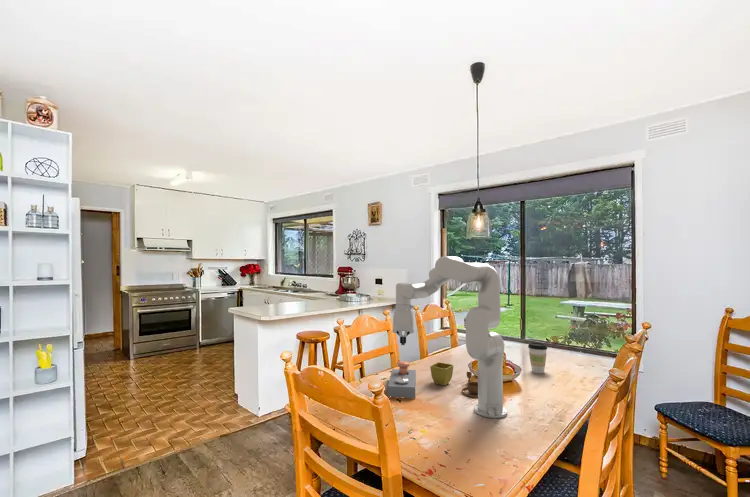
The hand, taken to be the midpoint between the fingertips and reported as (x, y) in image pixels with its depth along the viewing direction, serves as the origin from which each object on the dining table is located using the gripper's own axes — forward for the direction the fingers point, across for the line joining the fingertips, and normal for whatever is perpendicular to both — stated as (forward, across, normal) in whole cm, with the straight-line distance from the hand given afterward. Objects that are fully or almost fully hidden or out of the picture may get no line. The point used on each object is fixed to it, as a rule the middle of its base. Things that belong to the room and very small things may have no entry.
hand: (403, 344), depth 177 cm
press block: (+19, 0, +7) cm, 20 cm away
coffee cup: (+19, -73, -29) cm, 81 cm away
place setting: (+20, -35, +6) cm, 41 cm away
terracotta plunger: (+15, 0, 0) cm, 15 cm away
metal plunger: (+19, 0, +14) cm, 23 cm away
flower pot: (+19, -19, -2) cm, 27 cm away
